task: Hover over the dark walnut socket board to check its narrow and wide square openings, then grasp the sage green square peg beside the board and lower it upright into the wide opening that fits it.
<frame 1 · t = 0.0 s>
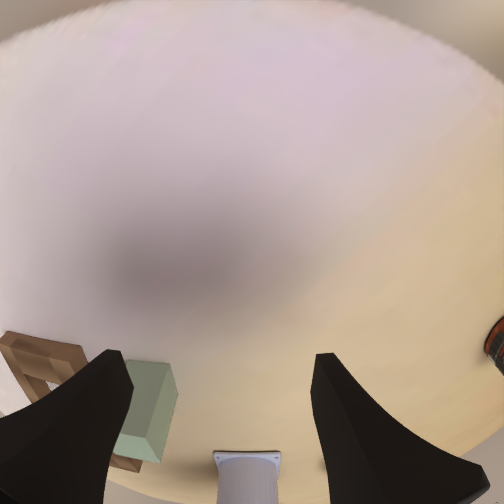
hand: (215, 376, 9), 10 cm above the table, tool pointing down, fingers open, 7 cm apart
peg: (153, 377, 23), on the table
socket board: (76, 407, 26), on the table
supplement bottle: (499, 333, 22), on the table
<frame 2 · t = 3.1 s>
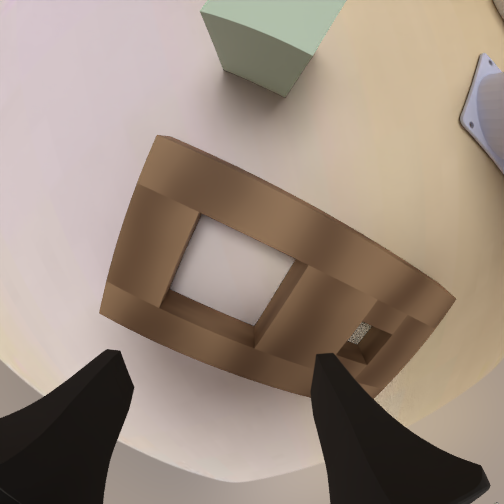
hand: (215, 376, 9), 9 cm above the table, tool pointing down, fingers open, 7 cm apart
peg: (269, 56, 14), on the table
socket board: (286, 295, 19), on the table
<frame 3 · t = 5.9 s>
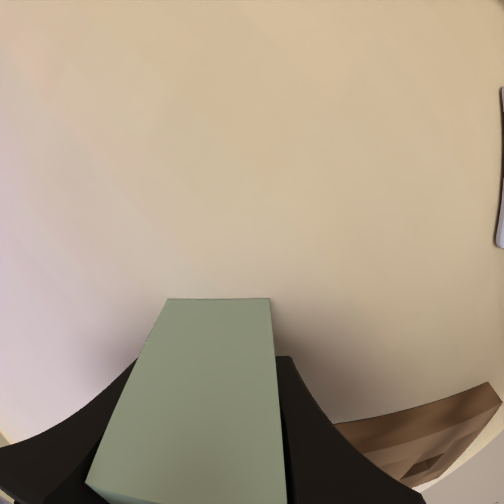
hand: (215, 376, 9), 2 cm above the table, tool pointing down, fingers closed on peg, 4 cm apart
peg: (221, 339, 12), on the table, touching gripper
socket board: (345, 461, 16), on the table
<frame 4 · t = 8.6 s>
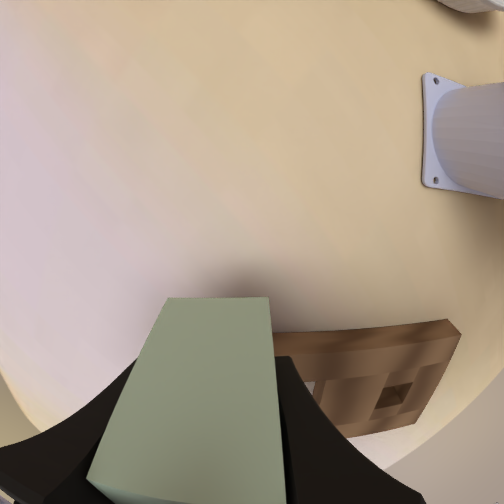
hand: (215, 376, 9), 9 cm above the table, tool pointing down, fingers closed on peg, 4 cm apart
peg: (221, 338, 12), point 7 cm above the table, touching gripper
socket board: (323, 384, 22), on the table
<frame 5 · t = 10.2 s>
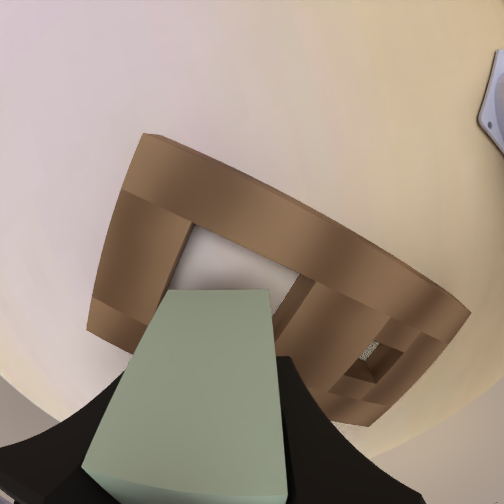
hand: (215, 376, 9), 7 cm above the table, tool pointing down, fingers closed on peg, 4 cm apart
peg: (221, 331, 12), point 5 cm above the table, touching gripper
socket board: (290, 311, 17), on the table
when the fingers open (3 cm above the table, at t = 11.5 s): peg stays where it is, resting in socket board.
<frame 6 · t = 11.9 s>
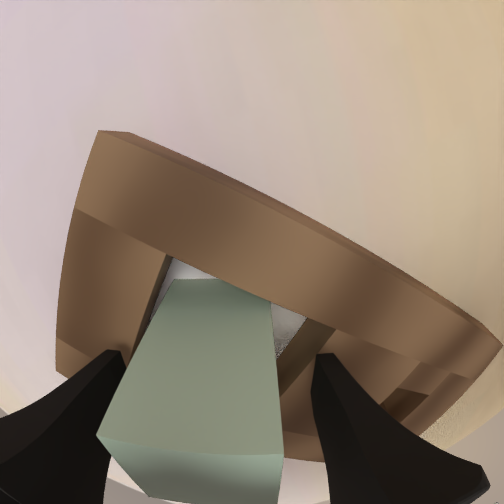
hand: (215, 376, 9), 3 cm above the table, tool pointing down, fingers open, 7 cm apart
peg: (223, 318, 13), resting in socket board
socket board: (298, 353, 13), on the table
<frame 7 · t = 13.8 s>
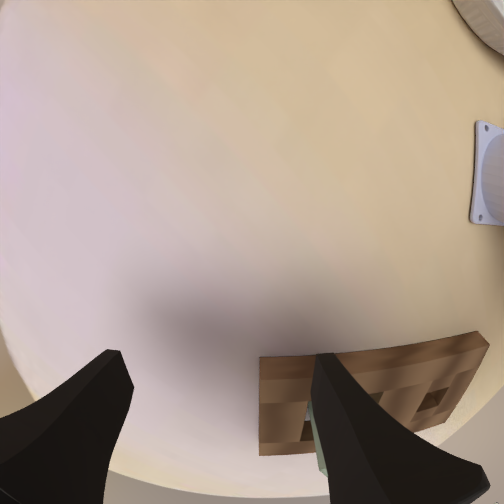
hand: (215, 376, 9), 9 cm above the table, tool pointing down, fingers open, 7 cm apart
ramekin: (481, 11, 10), on the table
peg: (333, 397, 23), resting in socket board
socket board: (373, 394, 23), on the table
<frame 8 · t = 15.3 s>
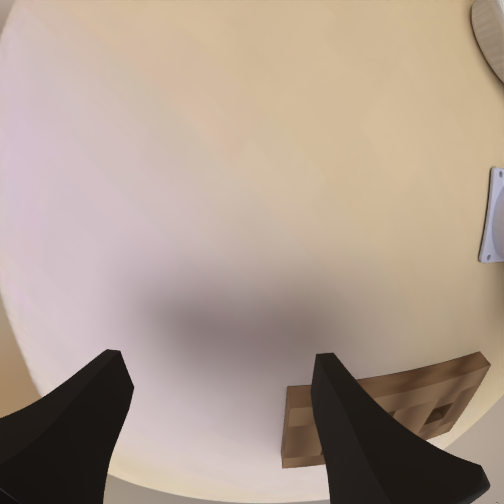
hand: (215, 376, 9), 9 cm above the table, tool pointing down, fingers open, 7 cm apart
ramekin: (501, 47, 11), on the table
socket board: (385, 410, 24), on the table
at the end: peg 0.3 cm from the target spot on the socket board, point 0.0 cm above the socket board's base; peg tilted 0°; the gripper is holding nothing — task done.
